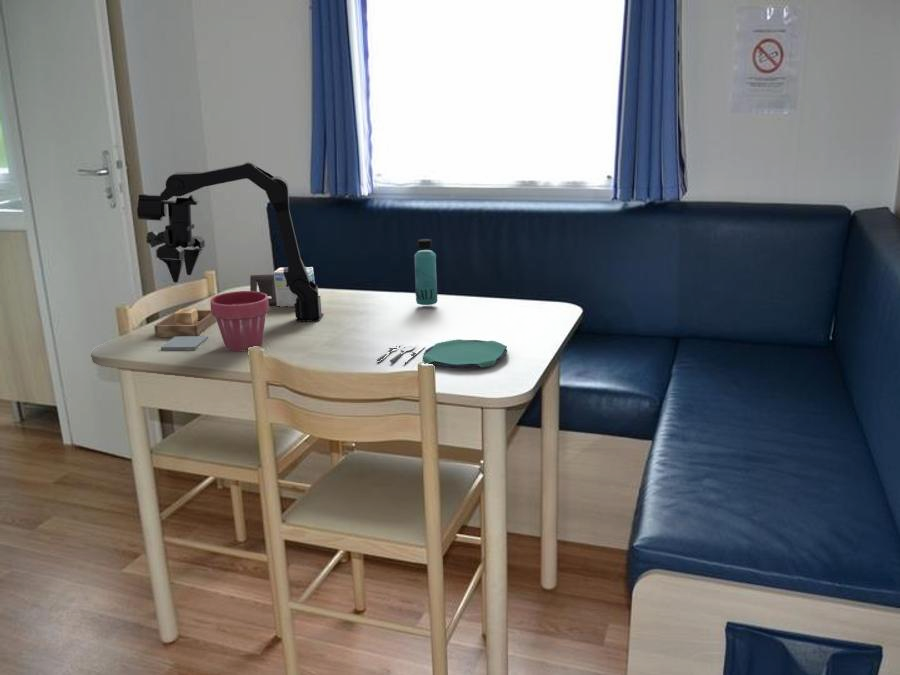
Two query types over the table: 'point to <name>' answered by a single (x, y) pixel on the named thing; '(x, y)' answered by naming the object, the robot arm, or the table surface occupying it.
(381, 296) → the table surface
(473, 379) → the table surface
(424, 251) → the beverage bottle
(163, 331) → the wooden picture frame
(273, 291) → the portable electronic device stand
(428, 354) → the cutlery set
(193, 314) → the beech block
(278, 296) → the light bulb box
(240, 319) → the plant pot
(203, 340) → the slate pad
